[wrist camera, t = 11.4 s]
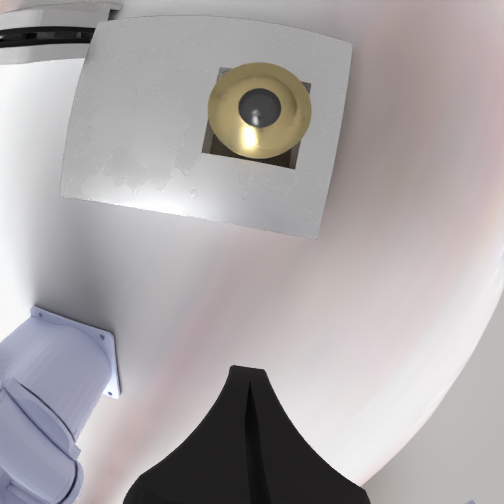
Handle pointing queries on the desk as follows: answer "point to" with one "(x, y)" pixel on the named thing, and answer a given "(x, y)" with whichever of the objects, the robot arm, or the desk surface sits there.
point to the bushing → (259, 110)
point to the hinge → (50, 31)
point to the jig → (199, 121)
